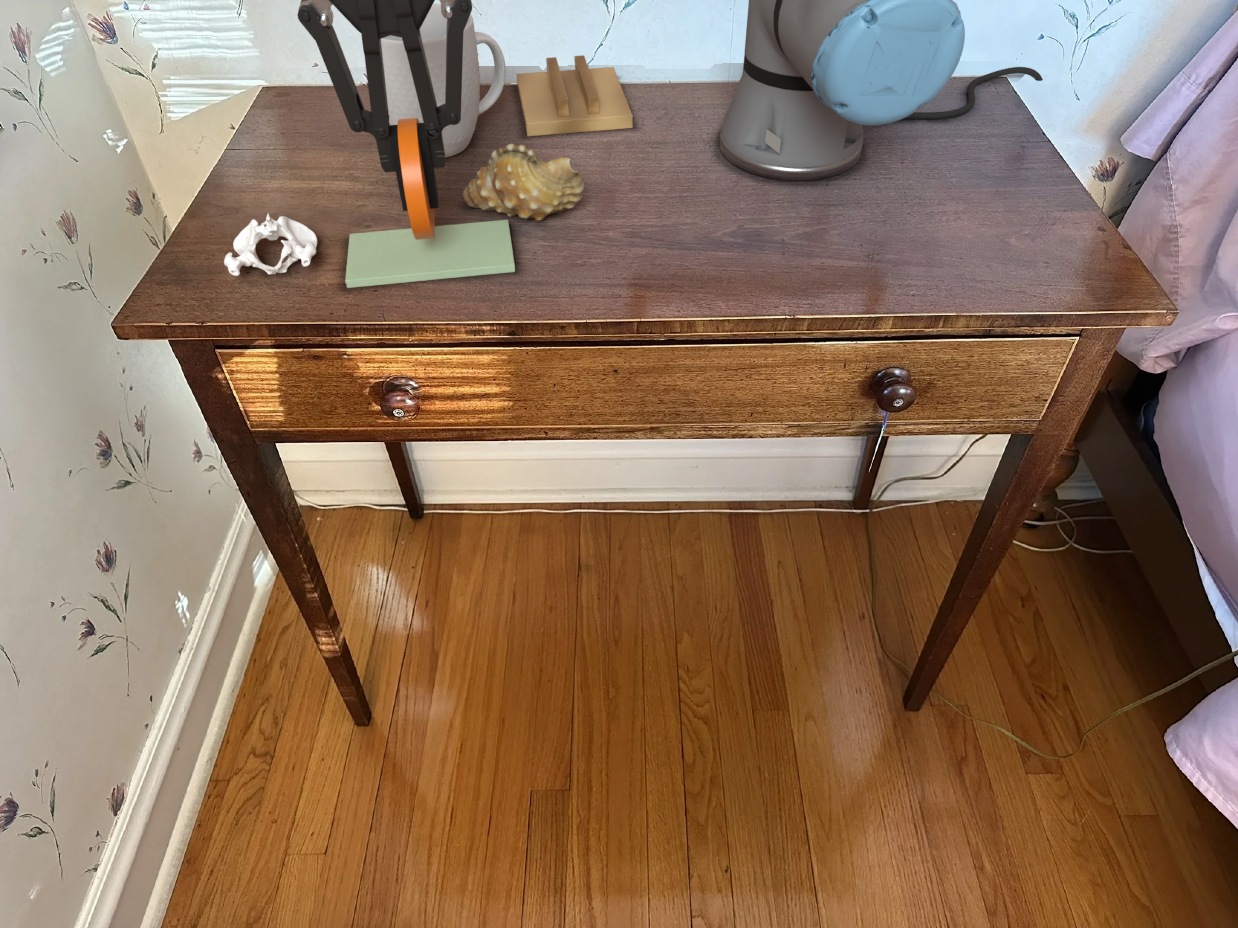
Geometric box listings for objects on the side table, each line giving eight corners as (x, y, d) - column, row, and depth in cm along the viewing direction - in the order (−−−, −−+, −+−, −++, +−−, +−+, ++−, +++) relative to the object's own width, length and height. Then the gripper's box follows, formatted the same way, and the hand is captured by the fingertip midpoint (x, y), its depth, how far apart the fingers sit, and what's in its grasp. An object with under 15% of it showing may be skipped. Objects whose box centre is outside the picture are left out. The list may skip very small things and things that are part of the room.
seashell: (570, 191, 93) (488, 243, 92) (531, 118, 89) (445, 171, 88) (597, 201, 85) (508, 257, 84) (556, 121, 81) (462, 179, 80)
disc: (433, 202, 85) (416, 98, 78) (436, 260, 78) (417, 152, 71) (416, 203, 85) (397, 99, 78) (417, 262, 78) (396, 153, 71)
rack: (613, 79, 112) (613, 50, 109) (632, 128, 102) (632, 97, 99) (517, 86, 110) (514, 57, 108) (527, 136, 101) (524, 106, 98)
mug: (482, 106, 106) (468, -13, 97) (536, 138, 100) (526, 14, 91) (369, 143, 100) (343, 19, 90) (420, 180, 94) (397, 51, 84)
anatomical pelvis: (215, 254, 77) (220, 210, 81) (231, 293, 80) (236, 248, 84) (310, 243, 78) (311, 199, 82) (322, 281, 81) (323, 238, 85)
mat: (508, 226, 87) (508, 219, 86) (515, 272, 81) (514, 264, 81) (351, 241, 85) (349, 233, 85) (347, 288, 80) (345, 280, 79)
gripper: (469, -123, 66) (500, 175, 83) (264, -114, 65) (338, 188, 81) (474, -96, 61) (506, 216, 78) (251, -85, 59) (333, 231, 76)
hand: (420, 201), depth 79 cm, fingers closed on disc, 2 cm apart
